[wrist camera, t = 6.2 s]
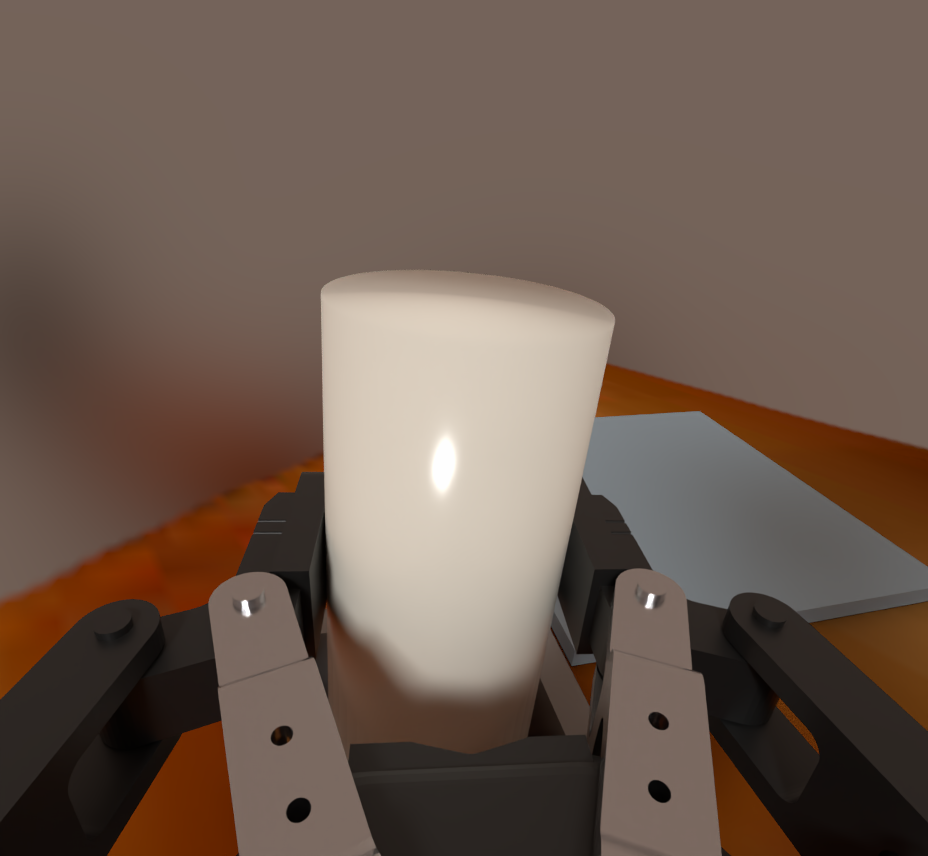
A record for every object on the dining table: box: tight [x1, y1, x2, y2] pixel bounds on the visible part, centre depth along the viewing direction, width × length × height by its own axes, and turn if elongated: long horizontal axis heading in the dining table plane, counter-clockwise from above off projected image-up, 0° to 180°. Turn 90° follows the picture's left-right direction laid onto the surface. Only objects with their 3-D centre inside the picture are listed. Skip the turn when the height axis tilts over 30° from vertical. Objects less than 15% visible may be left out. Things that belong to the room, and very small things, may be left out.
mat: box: [551, 411, 928, 666], centre depth 30 cm, size 18×18×1 cm
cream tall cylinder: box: [321, 270, 615, 761], centre depth 13 cm, size 5×5×14 cm
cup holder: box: [315, 609, 590, 737], centre depth 16 cm, size 9×9×3 cm
